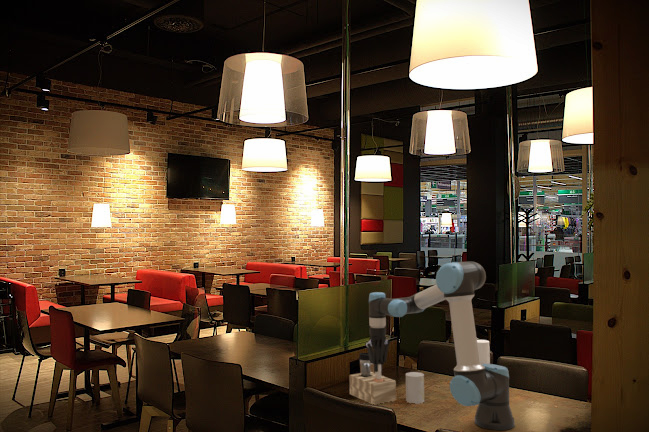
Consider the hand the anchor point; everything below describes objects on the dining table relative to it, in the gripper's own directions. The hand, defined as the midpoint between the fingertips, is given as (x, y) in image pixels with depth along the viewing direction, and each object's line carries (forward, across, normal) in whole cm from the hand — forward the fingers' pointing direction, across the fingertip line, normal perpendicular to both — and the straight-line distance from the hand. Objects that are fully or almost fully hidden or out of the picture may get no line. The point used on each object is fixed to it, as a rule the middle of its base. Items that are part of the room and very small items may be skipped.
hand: (378, 378), depth 252 cm
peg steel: (+4, 0, -10) cm, 11 cm away
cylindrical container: (+10, -45, +20) cm, 50 cm away
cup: (+10, -13, +10) cm, 19 cm away
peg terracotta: (+9, 0, 0) cm, 9 cm away
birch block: (+10, 0, -5) cm, 11 cm away
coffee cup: (+10, -12, -26) cm, 30 cm away
